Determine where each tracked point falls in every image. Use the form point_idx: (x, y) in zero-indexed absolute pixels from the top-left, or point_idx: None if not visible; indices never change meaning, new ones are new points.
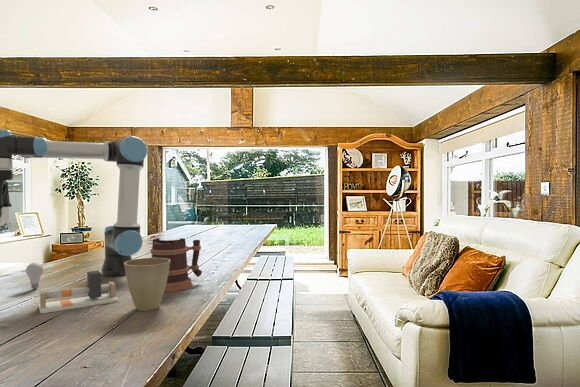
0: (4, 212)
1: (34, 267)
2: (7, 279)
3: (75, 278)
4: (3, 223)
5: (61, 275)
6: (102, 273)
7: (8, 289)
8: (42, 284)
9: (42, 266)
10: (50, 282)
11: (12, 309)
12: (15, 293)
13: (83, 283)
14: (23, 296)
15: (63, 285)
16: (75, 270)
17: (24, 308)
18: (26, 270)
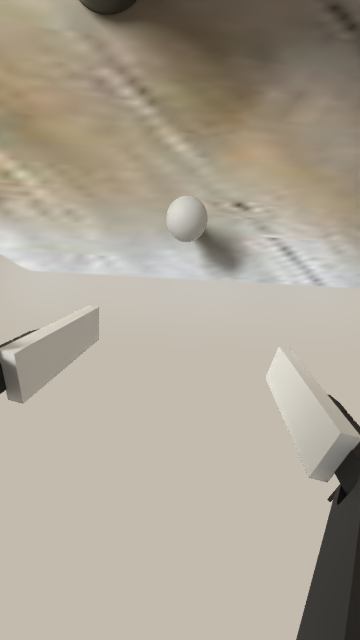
0: (56, 357)
1: (204, 220)
2: (54, 268)
3: (119, 115)
4: (293, 354)
5: (60, 150)
6: (118, 4)
7: (156, 272)
8: (147, 206)
9: (191, 196)
10: (134, 186)
11: (341, 276)
12: (203, 263)
13: (200, 99)
14: (243, 252)
15: (190, 158)
16: (3, 101)
17: (354, 257)
18: (192, 240)
